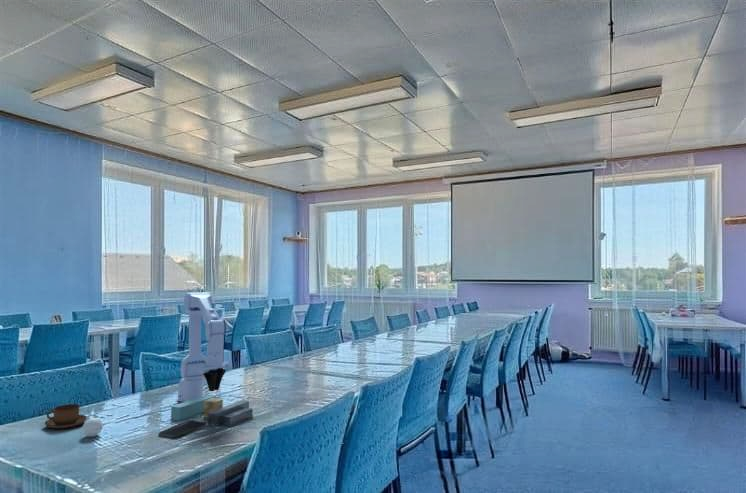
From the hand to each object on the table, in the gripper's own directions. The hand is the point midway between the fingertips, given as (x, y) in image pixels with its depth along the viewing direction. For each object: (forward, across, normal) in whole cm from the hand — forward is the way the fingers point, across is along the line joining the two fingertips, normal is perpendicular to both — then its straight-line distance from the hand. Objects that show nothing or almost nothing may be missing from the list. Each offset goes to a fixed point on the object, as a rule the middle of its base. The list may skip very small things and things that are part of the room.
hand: (213, 390), depth 175 cm
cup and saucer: (+10, -30, +37) cm, 48 cm away
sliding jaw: (+9, 0, +9) cm, 13 cm away
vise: (+9, 0, -10) cm, 13 cm away
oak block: (+10, 0, 0) cm, 10 cm away
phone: (+10, -16, -2) cm, 19 cm away
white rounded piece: (+10, -32, +19) cm, 38 cm away
